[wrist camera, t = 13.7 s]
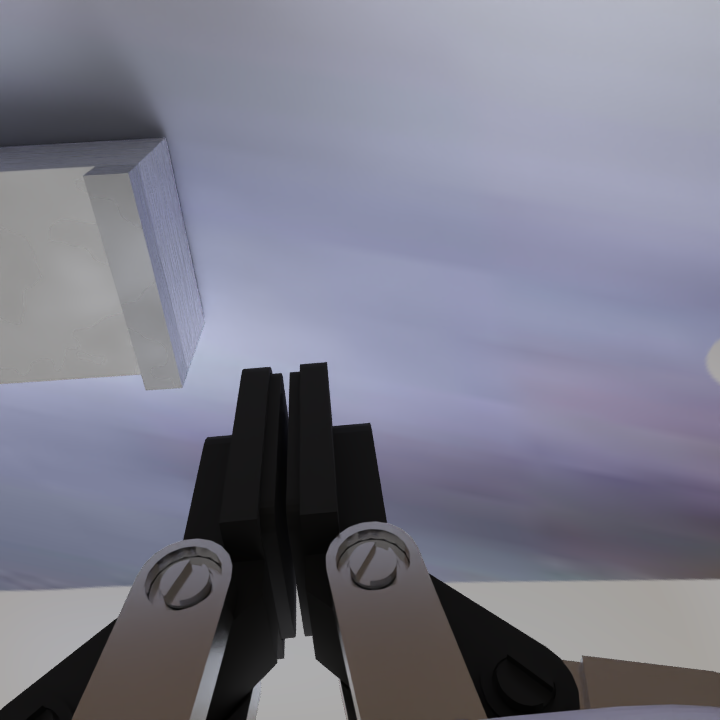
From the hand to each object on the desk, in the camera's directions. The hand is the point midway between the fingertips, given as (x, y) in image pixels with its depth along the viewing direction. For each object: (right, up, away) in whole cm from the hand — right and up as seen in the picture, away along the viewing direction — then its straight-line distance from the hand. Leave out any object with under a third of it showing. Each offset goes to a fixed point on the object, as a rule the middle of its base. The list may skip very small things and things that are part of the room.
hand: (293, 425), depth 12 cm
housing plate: (-9, +5, +9) cm, 14 cm away
